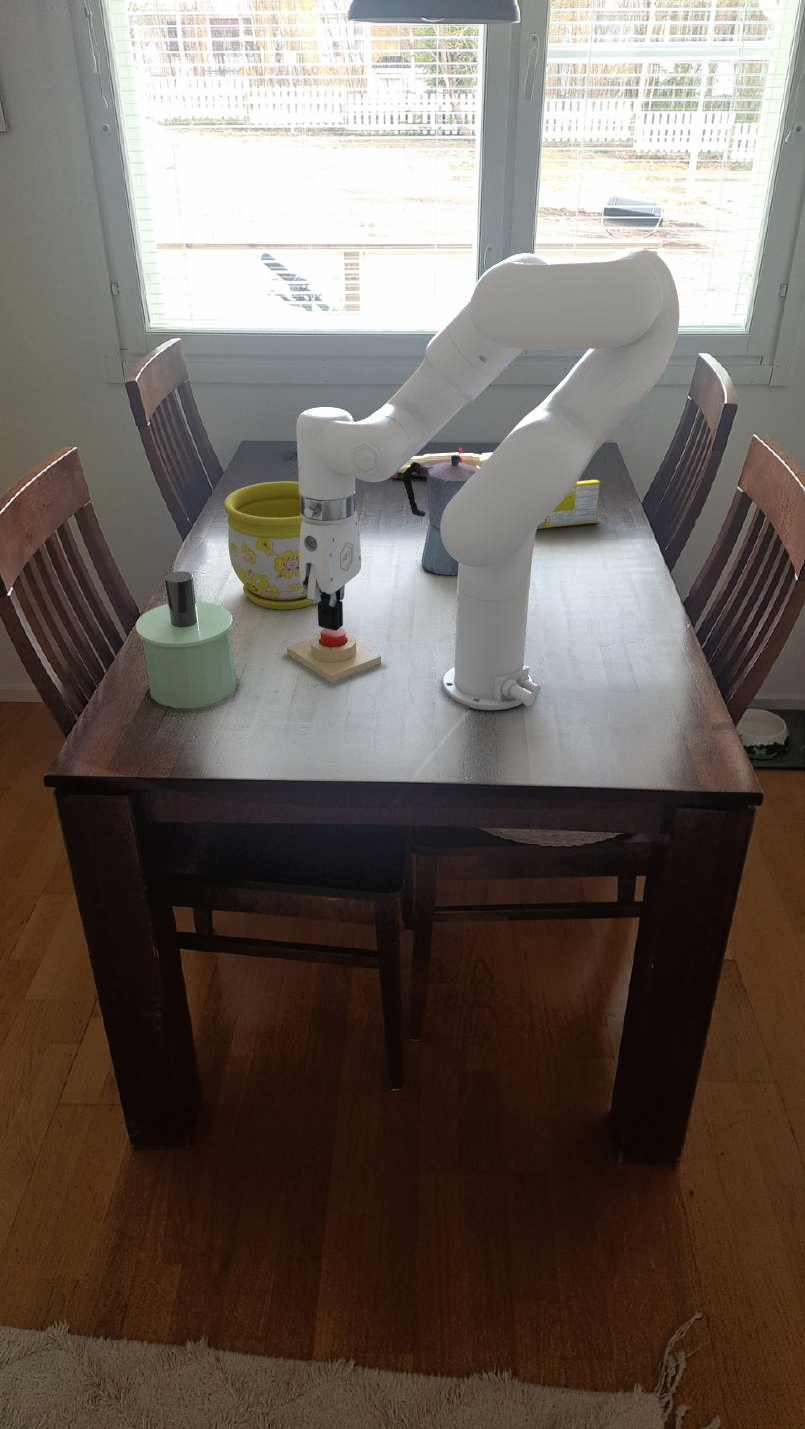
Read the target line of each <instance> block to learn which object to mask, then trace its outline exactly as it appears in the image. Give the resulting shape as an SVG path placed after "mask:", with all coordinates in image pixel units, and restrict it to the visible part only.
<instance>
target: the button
mask: <svg viewBox="0 0 805 1429" xmlns="http://www.w3.org/2000/svg"><path fill="white" fill-rule="evenodd" d="M345 632H346V630H345V629H343V628H342V627H340V628H339V629H338V630H337V631H335V630H330V629H326V628H323V629H322V630H320V632H319V633H320V636H321V645H322V646H324V647H330V648H333V647H340V646H343V645H345V643H346V637H345Z"/></svg>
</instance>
